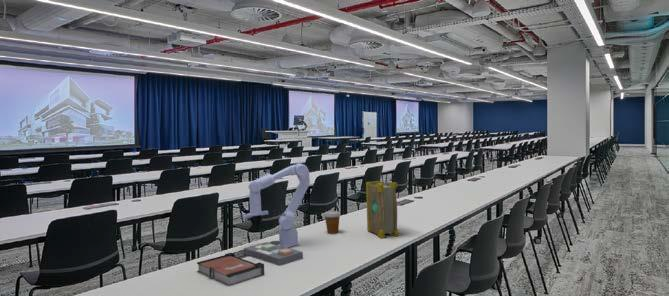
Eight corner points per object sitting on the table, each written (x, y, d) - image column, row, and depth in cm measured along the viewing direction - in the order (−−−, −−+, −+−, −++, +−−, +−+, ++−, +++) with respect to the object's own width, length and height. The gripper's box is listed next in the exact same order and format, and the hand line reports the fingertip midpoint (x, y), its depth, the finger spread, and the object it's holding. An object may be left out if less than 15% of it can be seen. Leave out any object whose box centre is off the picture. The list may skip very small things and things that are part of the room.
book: (195, 273, 180) (195, 261, 180) (231, 263, 193) (230, 252, 193) (227, 287, 162) (226, 275, 162) (264, 275, 174) (264, 264, 174)
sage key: (269, 248, 206) (269, 243, 206) (275, 249, 202) (275, 245, 202) (261, 250, 202) (261, 245, 202) (267, 251, 199) (267, 247, 199)
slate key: (277, 253, 201) (277, 249, 201) (283, 255, 198) (283, 250, 198) (269, 255, 198) (269, 251, 198) (275, 257, 195) (275, 253, 194)
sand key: (261, 248, 210) (261, 244, 210) (267, 250, 207) (267, 246, 207) (253, 250, 207) (253, 246, 207) (259, 252, 204) (259, 248, 203)
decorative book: (366, 231, 244) (364, 180, 243) (382, 229, 248) (381, 179, 247) (382, 239, 225) (380, 184, 224) (399, 236, 229) (398, 182, 228)
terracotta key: (286, 252, 197) (285, 248, 197) (292, 254, 193) (292, 250, 193) (278, 255, 193) (277, 250, 193) (284, 257, 190) (284, 252, 190)
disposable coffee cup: (327, 235, 237) (326, 214, 237) (323, 231, 246) (322, 211, 246) (342, 233, 240) (342, 213, 239) (338, 230, 249) (337, 210, 249)
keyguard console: (266, 247, 215) (266, 241, 215) (302, 258, 196) (302, 251, 195) (243, 254, 205) (243, 247, 205) (279, 265, 185) (279, 258, 185)
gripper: (262, 201, 221) (263, 226, 222) (238, 205, 211) (239, 232, 211) (270, 202, 216) (271, 228, 217) (246, 207, 206) (247, 234, 206)
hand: (256, 230), depth 214 cm, fingers closed
